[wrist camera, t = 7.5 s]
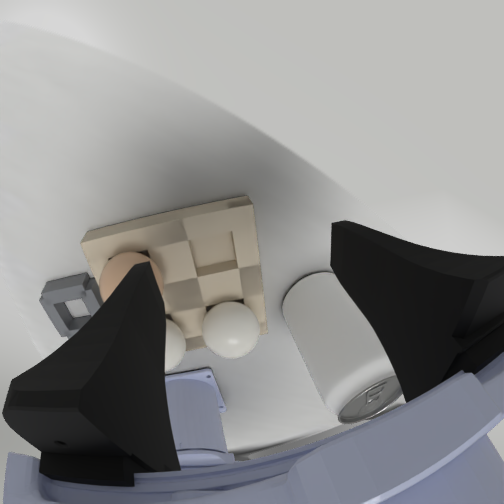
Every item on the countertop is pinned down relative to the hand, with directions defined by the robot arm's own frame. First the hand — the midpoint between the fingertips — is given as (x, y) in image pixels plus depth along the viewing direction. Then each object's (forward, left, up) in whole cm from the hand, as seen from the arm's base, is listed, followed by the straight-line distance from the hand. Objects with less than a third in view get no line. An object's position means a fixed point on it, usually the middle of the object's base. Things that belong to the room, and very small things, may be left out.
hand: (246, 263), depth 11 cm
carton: (-7, +4, -10) cm, 13 cm away
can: (-12, -7, -10) cm, 17 cm away
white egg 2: (-10, +1, -6) cm, 12 cm away
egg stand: (-7, +14, -10) cm, 18 cm away
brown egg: (-4, +7, -6) cm, 10 cm away
